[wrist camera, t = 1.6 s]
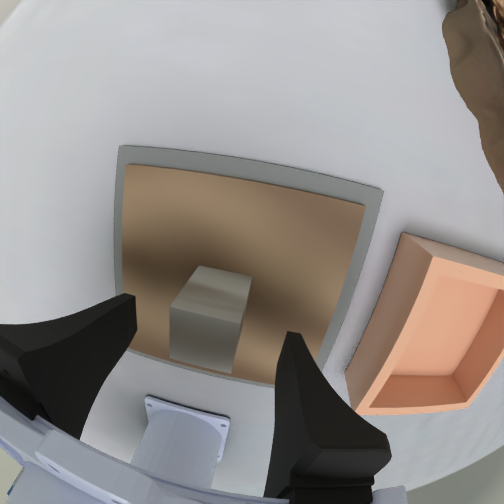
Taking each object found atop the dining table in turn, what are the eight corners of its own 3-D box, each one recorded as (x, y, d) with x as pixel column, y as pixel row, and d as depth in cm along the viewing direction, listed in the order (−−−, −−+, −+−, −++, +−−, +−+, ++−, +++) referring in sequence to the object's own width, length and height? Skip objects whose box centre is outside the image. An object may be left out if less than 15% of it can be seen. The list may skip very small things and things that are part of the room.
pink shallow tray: (450, 377, 18) (466, 408, 14) (344, 373, 18) (352, 414, 15) (508, 264, 14) (539, 287, 10) (401, 231, 14) (433, 256, 11)
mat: (311, 388, 19) (311, 393, 19) (124, 345, 20) (121, 348, 19) (381, 189, 14) (384, 191, 13) (123, 145, 14) (118, 145, 14)
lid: (302, 383, 18) (303, 439, 14) (131, 343, 19) (100, 388, 14) (362, 204, 14) (399, 230, 9) (130, 163, 14) (73, 172, 10)
